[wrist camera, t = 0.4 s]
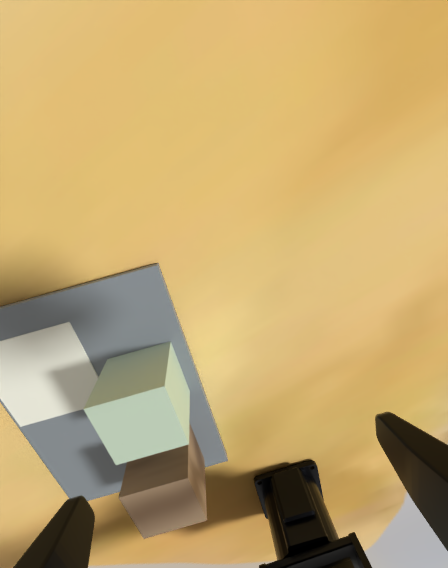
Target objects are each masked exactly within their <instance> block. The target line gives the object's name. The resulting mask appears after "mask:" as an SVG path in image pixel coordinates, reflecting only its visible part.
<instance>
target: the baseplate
mask: <svg viewBox="0 0 448 568" xmlns="http://www.w3.org/2000/svg"><path fill="white" fill-rule="evenodd" d="M170 341H171V343H172V346H173V349H174V351H175V354H176V356H177V359H178V362H179V364H180V367H181V369H182V372H183V375H184V377H185V380H186V383H187V385H188V388H189V390H190V415H189V422H190V425H191V427H192V430H193V432H194V435H195V437H196V440H197V442H198V445H199V447H200V450H201V452H202V455H203V457H204V460H205V467H208V466H211V465H215V464H218V463H222V462H225V461H228V459H227V454H226V451H225V448H224V445H223V442H222V440H221V437H220V434H219V431H218V428H217V426H216V423H215V420H214V417H213V414H212V412H211V409H210V406H209V403H208V401H207V398H206V395H205V392H204V389H203V387H202V384H201V381H200V378H199V375H198V373H197V370H196V367H195V364H194V361H193V359H192V356H191V353H190V350H189V347H188V345H187V342H186V339H185V336H184V334H183V331H182V328H181V325H180V322H179V320H178V317H177V314H176V311H175V308H174V306H173V303H172V300H171V297H170V294H169V292H168V289H167V286H166V283H165V280H164V278H163V275H162V272H161V269H160V267H159V264H158V263H156V264H152V265H149V266H145V267H141V268H138V269H134V270H131V271H127V272H123V273H120V274H116V275H113V276H109V277H105V278H102V279H98V280H95V281H91V282H87V283H84V284H80V285H77V286H73V287H69V288H66V289H62V290H59V291H55V292H51V293H48V294H44V295H41V296H37V297H33V298H30V299H26V300H23V301H19V302H15V303H12V304H8V305H5V306H1V307H0V402H1V404H2V405H3V406H4V408H5V409H6V411H7V412H8V413H9V415H10V416H11V418H12V419H13V420H14V422H15V423H16V425H17V426H18V427H19V429H20V430H21V432H22V433H23V434H24V436H25V437H26V439H27V440H28V441H29V443H30V444H31V446H32V447H33V448H34V450H35V451H36V452H37V454H38V455H39V457H40V458H41V459H42V461H43V462H44V464H45V465H46V466H47V468H48V469H49V471H50V472H51V473H52V475H53V476H54V478H55V479H56V480H57V482H58V483H59V485H60V486H61V487H62V489H63V490H64V492H65V493H66V494H67V496H68V497H69V498H73V497H76V496H80V495H82V496H84V497H85V499H86V500H87V501H89V500H93V499H96V498H100V497H103V496H107V495H110V494H113V493H117V492H120V490H121V486H122V482H123V477H124V473H125V469H126V464H127V462H126V463H122V464H119V465H115V463H114V461H113V459H112V458H111V456H110V454H109V452H108V451H107V449H106V447H105V446H104V444H103V442H102V440H101V439H100V437H99V435H98V434H97V432H96V430H95V428H94V427H93V425H92V423H91V422H90V420H89V418H88V416H87V415H86V413H85V411H84V407H85V405H86V403H87V401H88V398H89V396H90V394H91V392H92V390H93V388H94V386H95V384H96V382H97V380H98V378H99V376H100V374H101V371H102V369H103V367H104V365H105V363H106V361H107V359H110V358H113V357H117V356H120V355H124V354H127V353H131V352H134V351H138V350H142V349H145V348H149V347H152V346H156V345H159V344H163V343H166V342H170Z"/></svg>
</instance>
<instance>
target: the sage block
mask: <svg viewBox="0 0 448 568" xmlns="http://www.w3.org/2000/svg"><path fill="white" fill-rule="evenodd" d="M84 411H85V413H86V415H87V416H88V418H89V420H90V422H91V423H92V425H93V427H94V428H95V430H96V432H97V434H98V435H99V437H100V439H101V440H102V442H103V444H104V446H105V447H106V449H107V451H108V452H109V454H110V456H111V458H112V459H113V461H114V463H115V465H119V464H122V463H126V462H129V461H133V460H136V459H140V458H143V457H147V456H150V455H154V454H157V453H161V452H164V451H168V450H171V449H175V448H178V447H182V446H185V445H189V415H190V390H189V388H188V385H187V383H186V380H185V377H184V375H183V372H182V369H181V367H180V364H179V362H178V359H177V356H176V354H175V351H174V349H173V346H172V343H171V341H170V342H166V343H163V344H159V345H156V346H152V347H149V348H145V349H142V350H138V351H134V352H131V353H127V354H124V355H120V356H117V357H113V358H110V359H107V361H106V363H105V365H104V367H103V369H102V371H101V374H100V376H99V378H98V380H97V382H96V384H95V386H94V388H93V390H92V392H91V394H90V396H89V398H88V401H87V403H86V405H85V407H84Z"/></svg>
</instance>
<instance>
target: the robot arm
mask: <svg viewBox="0 0 448 568" xmlns="http://www.w3.org/2000/svg"><path fill="white" fill-rule="evenodd" d="M375 422H376V435H377V438H378V441H379V443H380V445H381V447H382V448H383V450H384V452H385V454H386V455H387V457H388V459H389V461H390V462H391V464H392V466H393V467H394V469H395V471H396V473H397V474H398V476H399V478H400V480H401V481H402V483H403V485H404V487H405V488H406V490H407V492H408V493H409V495H410V497H411V498H412V500H413V501H414V503H415V505H416V506H417V508H418V509H419V510H420V512H421V513H422V515H423V516H424V518H425V519H426V521H427V522H428V523H429V525H430V526H431V528H432V529H433V531H434V532H435V533H436V535H437V536H438V538H439V539H440V541H441V542H442V544H443V545H444V546H445V548H446V549H447V551H448V445H447V444H445V443H443V442H442V441H440V440H438V439H436V438H435V437H433V436H431V435H429V434H428V433H426V432H424V431H422V430H421V429H419V428H417V427H416V426H414V425H412V424H410V423H409V422H407V421H405V420H403V419H402V418H400V417H398V416H396V415H395V414H393V413H391V412H385V413H381V414H377V415H376V417H375ZM254 483H255V486H256V490H257V493H258V496H259V499H260V502H261V505H262V508H263V511H264V514H265V517H266V518H267V519H268V520H269V525H270V529H271V533H272V538H273V542H274V547H275V551H276V556H277V561H275V562H272V563H269V564H265V563H264V564H262V565H259V568H372V567H371V565H370V563H369V561H368V559H367V557H366V555H365V552H364V550H363V548H362V546H361V544H360V542H359V540H358V538H357V536H356V534H355V532H353V533H350V534H349V536H346V537H343V538H340V539H339V537H338V535H337V533H336V530H335V528H334V525H333V523H332V520H331V518H330V516H329V513H328V511H327V508H326V506H325V503H324V500H323V495H322V489H321V484H320V479H319V474H318V468H317V465H316V463H315V461H308V462H304V463H301V464H297V465H294V466H290V467H287V468H283V469H280V470H276V471H273V472H269V473H266V474H263V475H259V476H256V477H255V478H254ZM94 522H95V516H94V512H93V510H92V508H91V507H90V505H89V503H88V502H87V500H86V499H85V497H84V496H82V495H80V496H76V497H73V498H70V499H68V500H67V501H66V502H65V503H64V504H63V505H62V507H61V508H60V509H59V510H58V512H57V513H56V514H55V515H54V517H53V518H52V519H51V521H50V522H49V523H48V524H47V526H46V527H45V528H44V529H43V531H42V532H41V533H40V534H39V536H38V537H37V538H36V539H35V541H34V542H33V543H32V544H31V546H30V547H29V548H28V550H27V551H26V552H25V553H24V555H23V556H22V557H21V558H20V560H19V561H18V562H17V563H16V565H15V566H14V567H13V568H88V563H89V556H90V549H91V542H92V536H93V529H94Z"/></svg>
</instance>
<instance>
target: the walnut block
mask: <svg viewBox="0 0 448 568" xmlns="http://www.w3.org/2000/svg"><path fill="white" fill-rule="evenodd" d="M119 499H120V501H121V502H122V504H123V506H124V507H125V509H126V511H127V512H128V514H129V515H130V517H131V519H132V520H133V522H134V524H135V525H136V527H137V528H138V530H139V532H140V533H141V535H142V537H143V538H144V539H145V538H148V537H152V536H155V535H159V534H162V533H166V532H169V531H173V530H176V529H180V528H183V527H187V526H190V525H193V524H197V523H200V522H204V521H207V506H206V483H205V460H204V457H203V455H202V452H201V450H200V447H199V445H198V442H197V440H196V437H195V435H194V432H193V430H192V427H191V425H190V422H189V445H185V446H182V447H178V448H175V449H171V450H168V451H164V452H161V453H157V454H154V455H150V456H147V457H143V458H140V459H136V460H133V461H129V462H127V464H126V469H125V473H124V477H123V482H122V486H121V490H120V494H119Z"/></svg>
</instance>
